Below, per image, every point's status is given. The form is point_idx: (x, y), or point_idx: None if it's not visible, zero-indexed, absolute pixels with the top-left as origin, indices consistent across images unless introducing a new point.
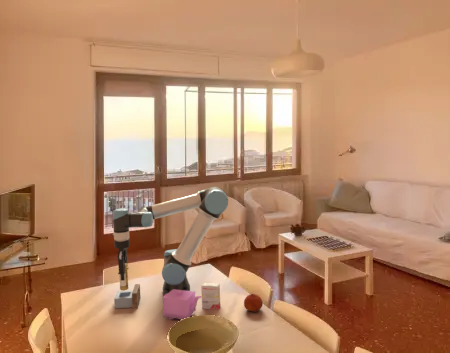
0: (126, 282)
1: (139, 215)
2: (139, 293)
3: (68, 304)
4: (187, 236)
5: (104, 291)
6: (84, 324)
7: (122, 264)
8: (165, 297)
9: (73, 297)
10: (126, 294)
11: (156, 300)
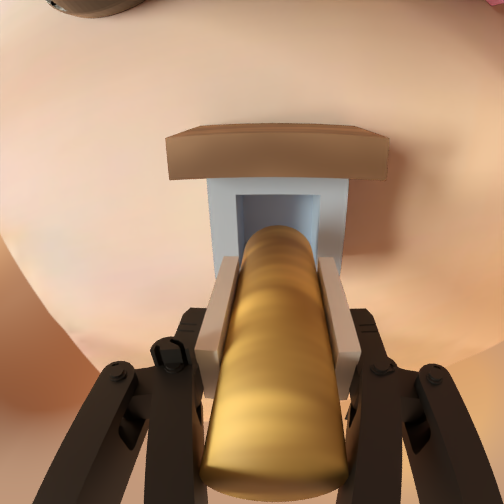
0: (308, 267)
1: None
2: (228, 128)
3: None
4: None
5: (116, 329)
6: (431, 339)
7: (490, 493)
8: None
9: None
10: (239, 222)
11: (246, 19)
